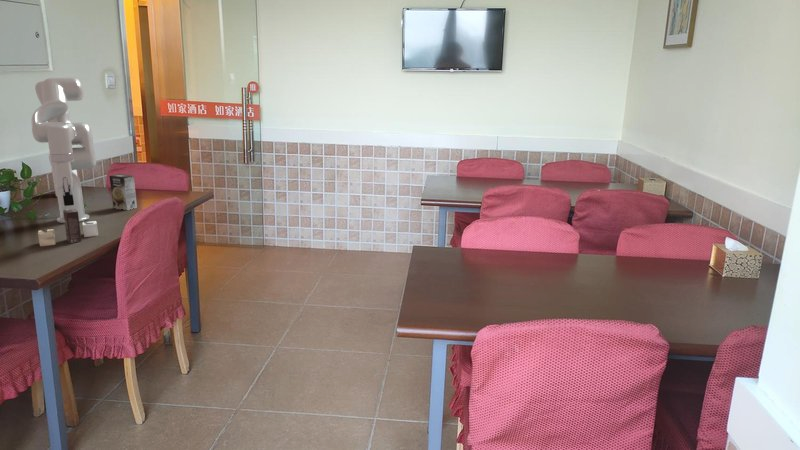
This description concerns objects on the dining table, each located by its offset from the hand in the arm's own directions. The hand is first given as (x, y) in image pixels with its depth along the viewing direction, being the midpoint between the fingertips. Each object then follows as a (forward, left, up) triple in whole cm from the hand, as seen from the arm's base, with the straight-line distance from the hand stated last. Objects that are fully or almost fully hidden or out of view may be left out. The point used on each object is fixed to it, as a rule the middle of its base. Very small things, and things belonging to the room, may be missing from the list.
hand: (69, 205), depth 222 cm
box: (0, 0, -14) cm, 14 cm away
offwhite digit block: (-6, +6, -14) cm, 17 cm away
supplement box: (-97, -2, -14) cm, 98 cm away
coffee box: (-49, +22, -14) cm, 55 cm away
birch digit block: (0, -9, -14) cm, 17 cm away
